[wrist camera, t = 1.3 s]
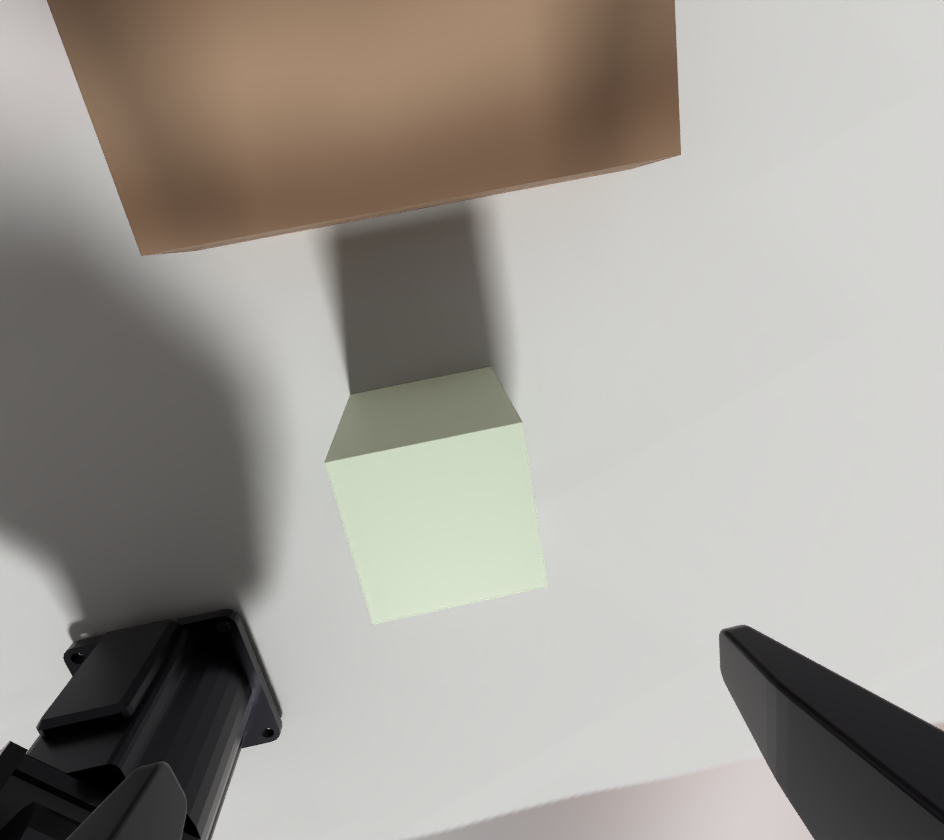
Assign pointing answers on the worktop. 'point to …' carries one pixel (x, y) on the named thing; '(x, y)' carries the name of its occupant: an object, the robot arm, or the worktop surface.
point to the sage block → (436, 495)
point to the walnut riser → (361, 105)
